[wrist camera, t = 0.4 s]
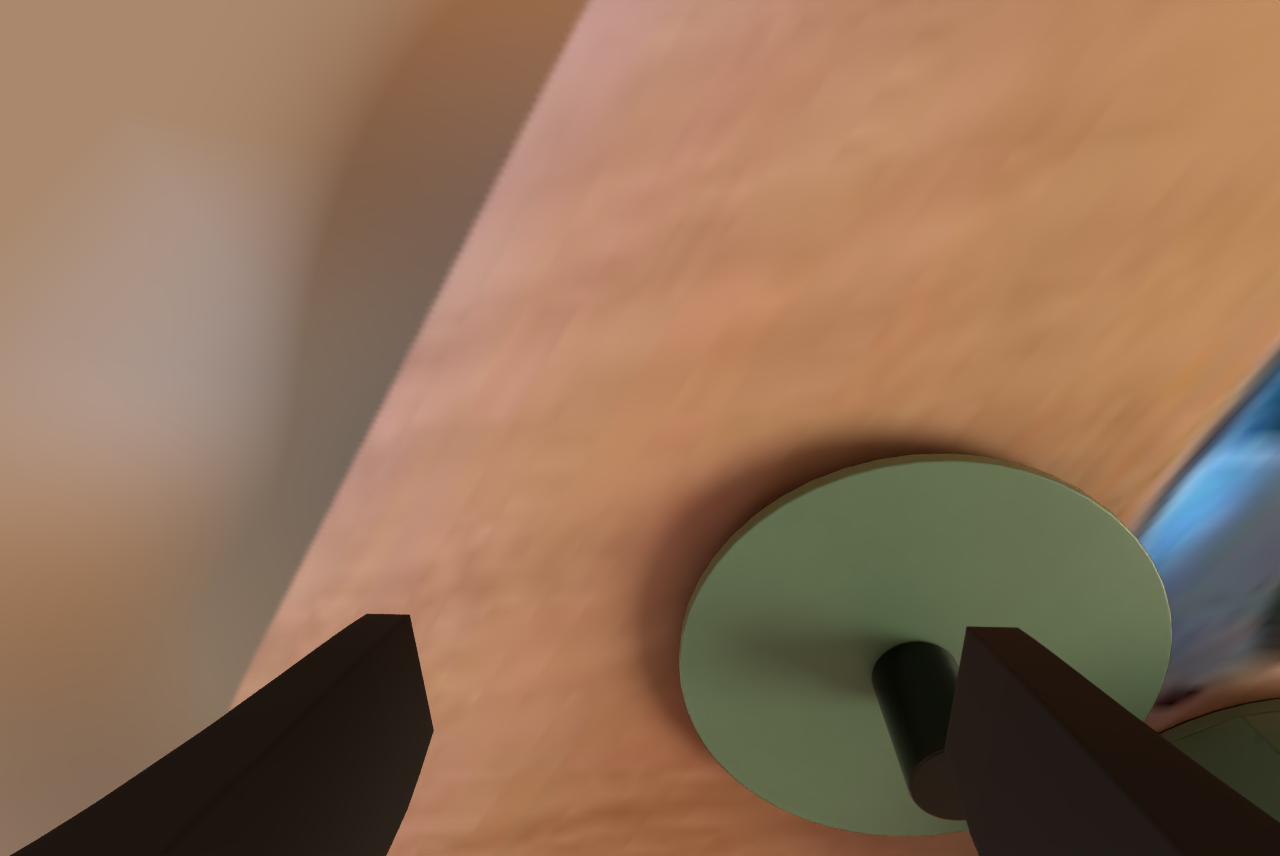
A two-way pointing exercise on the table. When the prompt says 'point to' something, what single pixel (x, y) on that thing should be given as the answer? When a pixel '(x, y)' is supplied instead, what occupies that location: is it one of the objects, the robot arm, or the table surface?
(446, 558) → the table surface
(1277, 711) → the pot
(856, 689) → the lid
